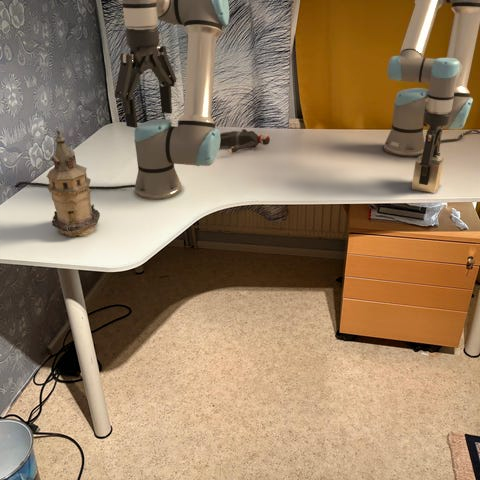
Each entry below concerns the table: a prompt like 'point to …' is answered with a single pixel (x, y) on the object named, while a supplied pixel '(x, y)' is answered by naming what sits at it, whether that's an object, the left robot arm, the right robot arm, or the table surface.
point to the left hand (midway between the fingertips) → (150, 119)
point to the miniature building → (70, 193)
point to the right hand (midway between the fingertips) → (426, 179)
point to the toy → (242, 140)
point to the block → (433, 176)
